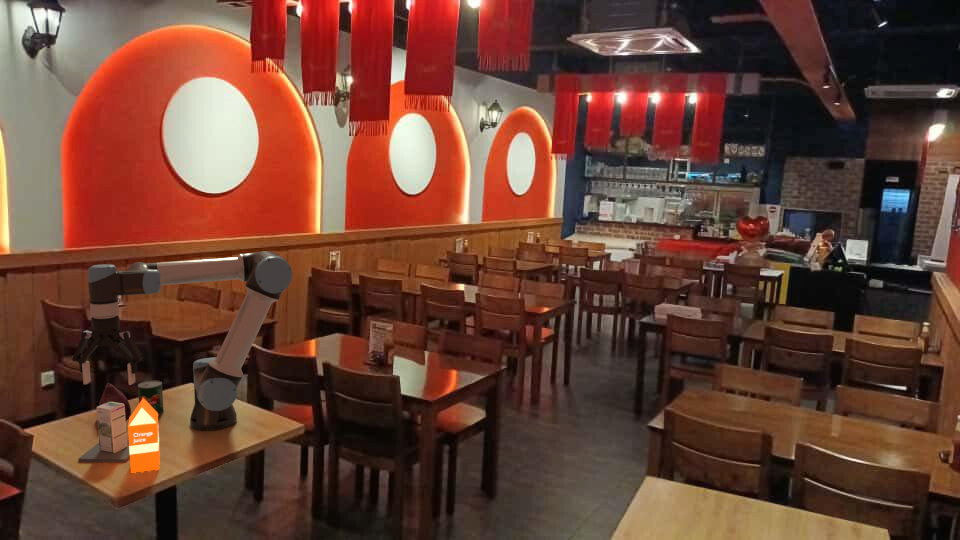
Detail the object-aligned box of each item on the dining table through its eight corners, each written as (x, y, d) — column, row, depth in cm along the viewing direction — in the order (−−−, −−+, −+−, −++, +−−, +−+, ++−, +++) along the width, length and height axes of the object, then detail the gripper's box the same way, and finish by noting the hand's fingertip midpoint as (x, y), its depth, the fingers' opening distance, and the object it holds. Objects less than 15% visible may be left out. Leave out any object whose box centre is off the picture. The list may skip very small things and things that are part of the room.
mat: (146, 443, 220) (146, 440, 220) (125, 462, 206) (125, 459, 206) (102, 442, 220) (102, 439, 220) (78, 461, 206) (78, 458, 206)
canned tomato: (159, 407, 251) (158, 379, 249) (166, 413, 245) (165, 384, 244) (136, 412, 246) (134, 383, 244) (143, 419, 240) (141, 389, 238)
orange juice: (130, 474, 199) (126, 408, 196) (132, 461, 207) (128, 398, 204) (160, 469, 202) (156, 405, 199) (160, 457, 210) (157, 395, 207)
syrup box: (128, 446, 215) (125, 402, 213) (113, 454, 209) (110, 409, 207) (114, 444, 217) (111, 400, 214) (98, 451, 211) (95, 406, 209)
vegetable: (118, 431, 236) (112, 396, 230) (92, 425, 238) (85, 389, 232) (138, 414, 246) (133, 379, 240) (113, 407, 248) (108, 373, 241)
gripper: (152, 313, 210) (156, 379, 214) (70, 312, 209) (75, 378, 213) (141, 319, 203) (145, 387, 206) (55, 318, 202) (61, 386, 205)
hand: (109, 383), depth 209 cm, fingers open, 13 cm apart
